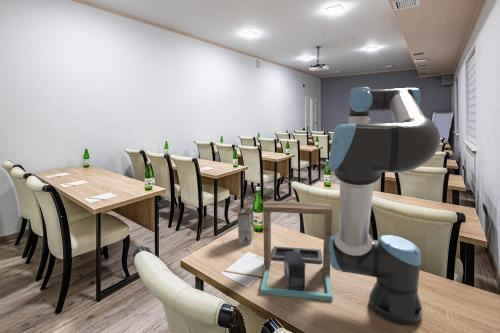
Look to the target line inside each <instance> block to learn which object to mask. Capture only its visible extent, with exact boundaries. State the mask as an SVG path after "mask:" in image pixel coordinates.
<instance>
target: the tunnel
mask: <svg viewBox="0 0 500 333" xmlns="http://www.w3.org/2000/svg"><path fill="white" fill-rule="evenodd" d="M262 212H263V272H265V270H269V271H270V269H271V264H272V226H271V225H272V217H271V216H272V214H271V213H281V214H282V213H283V214H303V215H304V214H305V215H307V214H308V215H324V222H323V252H322V254H323V256H322V269H323V277H324V278H325V275H329V279H331V263H330V252H329V242H330V237H331V235H332V231H333V230H332V228H333V207H332V205H331V202H310V201H309V202H306V201H305V202H303V201H282V200H279V201H277V200H266V201H265V202H264V205H263V210H262Z"/></svg>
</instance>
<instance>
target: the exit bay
mask: <svg viewBox="0 0 500 333" xmlns="http://www.w3.org/2000/svg"><path fill="white" fill-rule="evenodd" d="M263 272H264V271H263ZM269 273H270V270H265V272H264V273H263V278H262V282H261V285H260V291H259V292H260V294H265V295H273V296H274V295H275V296H281V297H282V296H284V297H294V298H301V299H302V298H305V299H314V300H323V301H332V302H333V299H334V298H333V291H332V286H331V281H330V280H331V278H329V275H325V277H324V281H325V282H324V283H325V289H326V292H325V293H324V292H315V291H306V290H305V291H297V290H288V288H286V289H285V288H276V287H267V284H268V279H269Z"/></svg>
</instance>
